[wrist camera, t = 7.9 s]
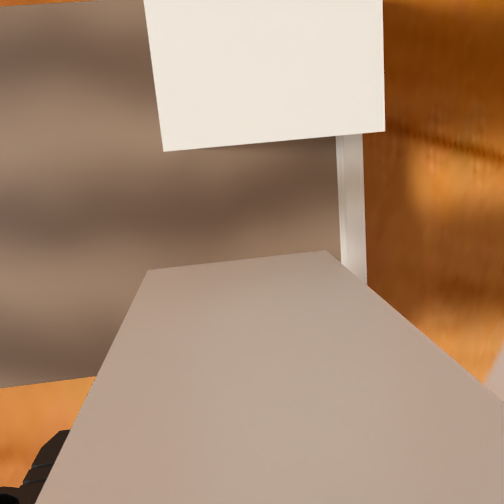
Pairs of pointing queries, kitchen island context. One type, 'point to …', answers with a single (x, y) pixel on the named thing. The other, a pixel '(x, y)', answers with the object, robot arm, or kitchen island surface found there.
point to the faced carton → (265, 70)
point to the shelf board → (132, 189)
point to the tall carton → (277, 398)
